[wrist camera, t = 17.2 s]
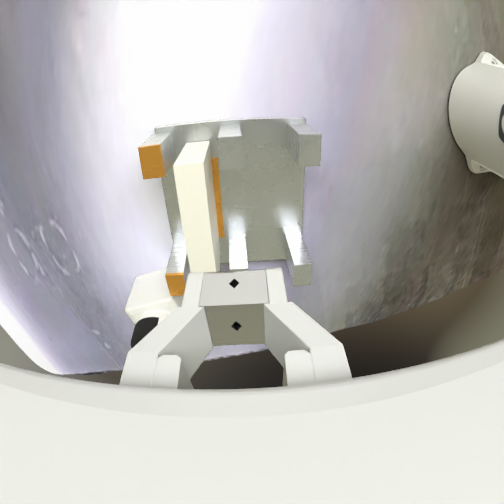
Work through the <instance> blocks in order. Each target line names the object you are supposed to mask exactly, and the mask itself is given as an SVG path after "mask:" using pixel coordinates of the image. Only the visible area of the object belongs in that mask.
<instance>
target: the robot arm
mask: <svg viewBox="0 0 504 504" xmlns="http://www.w3.org/2000/svg"><path fill="white" fill-rule="evenodd" d="M449 120H450V126H451V130H452V133H453V136H454V138H455V140H456V142H457V144H458V146H459V147H460V148H461V150H462V151H463V152H464V154H465V156H466V160H467V164H468V167H469V170H470V171H471V172H474V173H483V172H490V171H491V172H493V173H495V174H497V175H499V176H500V177H502V178H504V65H503V64H502V63H501V62H500V61H499V60H497V59H496V58H495V57H494V56H492V55H491V54H490V53H487V52H481V53H480V55H479V56H478V58H477V59H476V61H475V62H474V63H473V64H471V65H469V66H467V67H466V68H464V69H463V70H462V71H461V72H460V73H459V75H458V76H457V78H456V79H455V81H454V84H453V86H452V89H451V93H450V99H449ZM236 344H265V345H266V346H267V348H268V349H269V350H270V351H271V352H272V354H273V355H274V356H275V357H276V359H277V360H278V361H279V362H280V364H281V365H282V366H283V367H284V373H283V387H271V388H254V389H221V390H198V389H196V390H195V389H193V386H192V384H191V382H190V378H191V377H192V375H193V374H194V373H195V371H196V370H197V369H198V367H199V366H200V365H201V363H202V362H203V361H204V359H205V358H206V356H207V355H208V354H209V352H210V351H211V350H212V348H213V346H220V345H236ZM0 504H504V339H502V340H499V341H496V342H494V343H491V344H488V345H485V346H482V347H479V348H476V349H473V350H470V351H467V352H464V353H461V354H457V355H454V356H450V357H447V358H443V359H440V360H436V361H432V362H428V363H424V364H420V365H416V366H412V367H408V368H403V369H399V370H394V371H389V372H384V373H379V374H374V375H368V376H363V377H357V378H352V376H351V372H350V369H349V365H348V361H347V358H346V354H345V350H344V347H343V344H342V343H340V342H339V341H338V340H337V339H336V338H334V337H333V336H332V335H331V334H330V333H329V332H327V331H326V330H325V329H324V328H323V327H321V326H320V325H319V324H318V323H317V322H316V321H314V320H313V319H312V318H311V317H310V316H308V315H307V314H306V313H305V312H304V311H302V310H301V309H300V308H299V307H298V306H297V305H295V304H294V303H293V302H288V301H287V295H286V289H285V283H284V277H283V272H282V269H281V267H280V268H269V269H266V270H265V269H262V270H246V271H219V272H193V273H189V275H188V277H187V281H186V286H185V291H184V296H183V301H182V305H181V307H177V308H176V309H175V310H173V311H172V312H171V313H170V314H169V315H168V316H167V317H166V318H165V319H164V320H163V321H161V322H160V323H159V324H158V325H157V326H156V327H155V328H154V329H153V330H152V331H151V332H150V333H148V334H147V335H146V336H145V337H144V338H143V339H142V340H141V341H140V342H139V343H138V344H137V345H135V346H134V347H133V348H132V349H131V350H130V351H129V352H128V355H127V358H126V362H125V365H124V369H123V373H122V376H121V380H120V384H119V385H114V384H105V383H98V382H90V381H83V380H76V379H71V378H65V377H59V376H53V375H49V374H44V373H39V372H34V371H30V370H25V369H21V368H17V367H13V366H9V365H5V364H2V363H0Z"/></svg>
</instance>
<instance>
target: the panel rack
mask: <svg viewBox="0 0 504 504" xmlns="http://www.w3.org/2000/svg"><path fill="white" fill-rule="evenodd" d="M154 129H155V133H154V134H153V135H152V136H151V137H150V138H149V139H147V140H146V141H145V142H144V143H143V144H142V145H141V146H140V147H139V148H138V150H139V156H140V162H141V168H142V174H143V179H150V178H158V177H161V178H162V184H163V190H164V196H165V202H166V207H167V213H168V218H169V223H170V229H171V234H172V239H173V247H172V251H171V255H170V258H169V262H168V266H167V270H166V274H165V278H166V282H167V285H168V289H169V293H170V296H184V291H185V286H186V281H187V277H188V275H189V273H191V271H190V266H189V260H188V255H187V250H186V244H185V239H184V233H183V227H182V221H181V215H180V209H179V203H178V196H177V190H176V183H175V176H174V169H173V165H174V163H175V161H176V160H177V158H178V156H179V154H180V153H181V151H182V149H183V148H184V146H185V144H186V143H191V142H201V141H210V149H211V161H212V172H213V183H214V193H215V203H216V213H217V223H218V232H219V242H220V251H221V254H220V263H229V271H246V270H248V262H250V261H264V260H279V259H286V261H287V265H288V269H289V272H290V276H291V280H292V284H293V286H301V285H310V282H311V273H312V261H311V258H310V256H309V253H308V251H307V248H306V245H305V243H304V240H303V238H302V218H303V198H304V174H305V166H320V160H321V137H322V135H321V134H320V133H319V132H317V131H316V130H315V129H313V128H312V127H311V126H309V125H308V124H306V118H304V117H256V118H235V119H220V120H208V121H198V122H188V123H180V124H172V125H164V126H157V127H156V128H154Z"/></svg>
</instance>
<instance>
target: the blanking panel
mask: <svg viewBox="0 0 504 504" xmlns="http://www.w3.org/2000/svg"><path fill="white" fill-rule="evenodd" d="M173 169H174V176H175V183H176V190H177V196H178V203H179V209H180V215H181V221H182V227H183V233H184V239H185V244H186V250H187V255H188V260H189V266H190V271H191V273H193V272H219V271H220V254H221V251H220V242H219V232H218V223H217V213H216V203H215V193H214V183H213V172H212V161H211V149H210V141H201V142H191V143H186V144H185V146H184V148H183V149H182V151H181V153H180V154H179V156H178V158H177V160H176V161H175V163H174V165H173Z"/></svg>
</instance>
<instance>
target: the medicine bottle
mask: <svg viewBox="0 0 504 504" xmlns="http://www.w3.org/2000/svg"><path fill="white" fill-rule="evenodd" d="M166 270H167V267H166V268H162V269H159V270H156V271H152V272H149V273H146V274H142V275H139V276H137V277H136V279H135V281H134V284H133V287H132V290H131V293H130V296H129V298H128V301H127V304H126V307H125V312H126V313H127V315H128V316H129V317H130V318H131V320H132V321H133V322H134V324H135V328H134V332H133V336H132V340H131V347H132V348H133V347H134V346H135V345H137V344H138V343H139V342H140V341H141V340H142V339H143V338H144V337H145V336H146V335H147V334H148V333H150V332H151V331H152V330H153V329H154V328H155V327H156V326H157V325H158V324H159V323H160V322H161V321H163V320H164V319H165V318H166V317H167V316H168V315H169V314H170V313H171V312H172V311H173V310H175V309H176V308H177V307H181V305H182V301H183V296H170V293H169V289H168V285H167V282H166V278H165V274H166Z"/></svg>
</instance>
